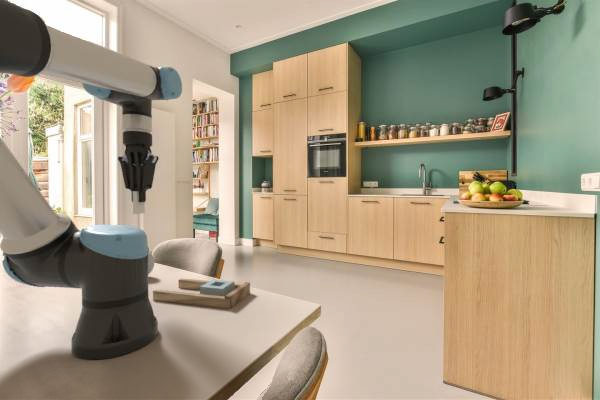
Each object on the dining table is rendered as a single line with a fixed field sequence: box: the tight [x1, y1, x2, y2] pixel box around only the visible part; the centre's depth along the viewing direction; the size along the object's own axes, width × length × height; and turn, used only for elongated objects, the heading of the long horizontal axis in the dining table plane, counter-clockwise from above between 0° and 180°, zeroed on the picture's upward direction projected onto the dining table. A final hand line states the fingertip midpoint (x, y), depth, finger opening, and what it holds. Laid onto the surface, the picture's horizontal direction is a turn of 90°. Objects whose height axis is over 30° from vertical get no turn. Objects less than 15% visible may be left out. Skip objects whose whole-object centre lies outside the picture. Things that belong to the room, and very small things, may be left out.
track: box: [152, 278, 251, 310], centre depth 87 cm, size 12×24×3 cm, turn 75°
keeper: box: [199, 279, 235, 297], centre depth 86 cm, size 7×7×4 cm
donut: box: [148, 251, 155, 275], centre depth 106 cm, size 10×4×10 cm, turn 84°
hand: (138, 213), depth 87 cm, fingers closed
